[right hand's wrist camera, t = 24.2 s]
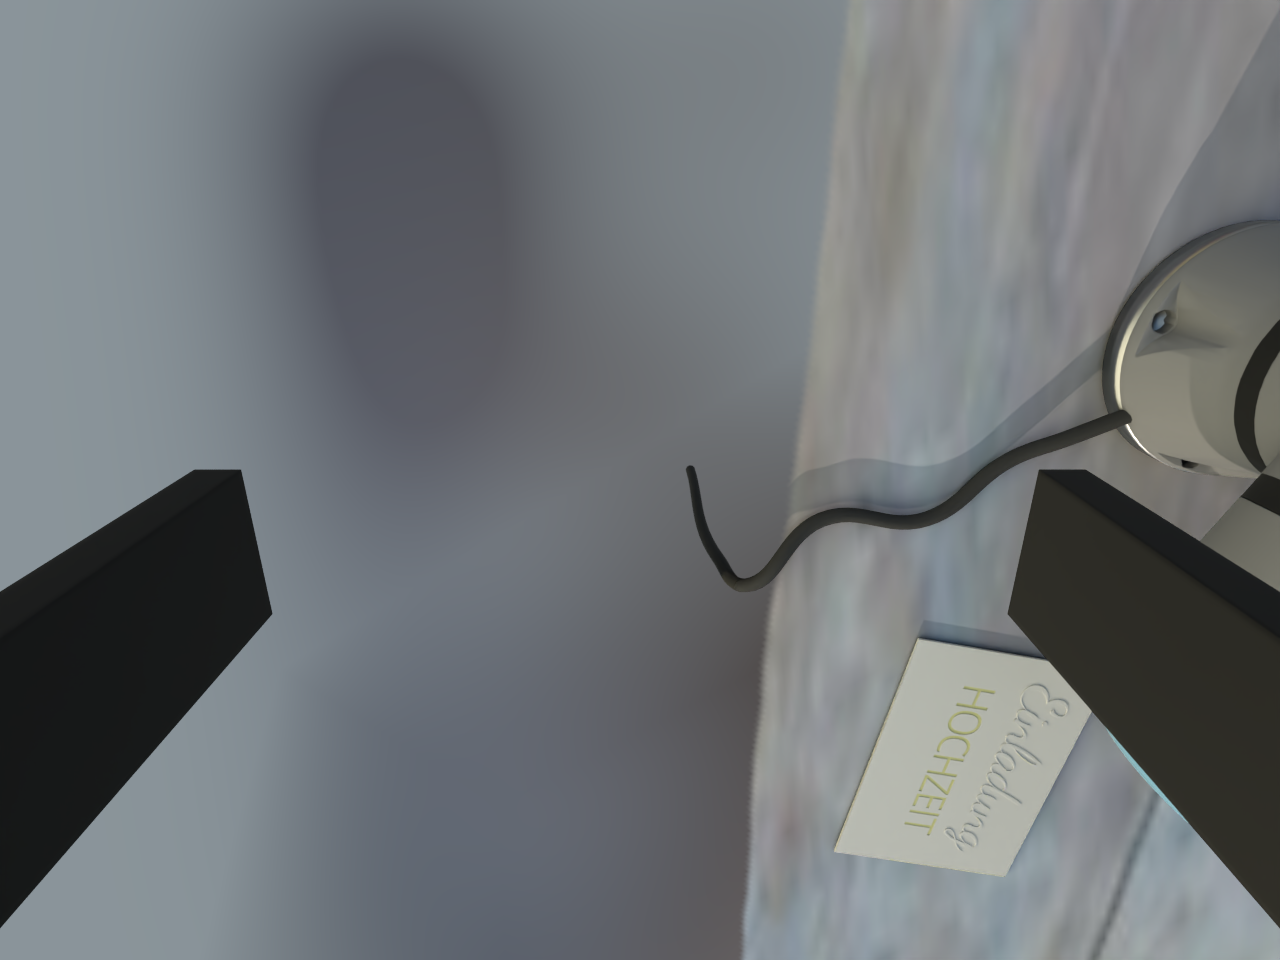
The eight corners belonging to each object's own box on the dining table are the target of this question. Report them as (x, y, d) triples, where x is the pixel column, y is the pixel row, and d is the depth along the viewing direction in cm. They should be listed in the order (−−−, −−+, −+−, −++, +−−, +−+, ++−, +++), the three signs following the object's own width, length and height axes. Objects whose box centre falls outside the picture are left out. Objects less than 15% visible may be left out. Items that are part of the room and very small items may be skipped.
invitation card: (919, 639, 53) (1112, 672, 54) (918, 637, 53) (1110, 670, 54) (834, 852, 61) (1005, 877, 62) (833, 849, 61) (1003, 874, 62)
